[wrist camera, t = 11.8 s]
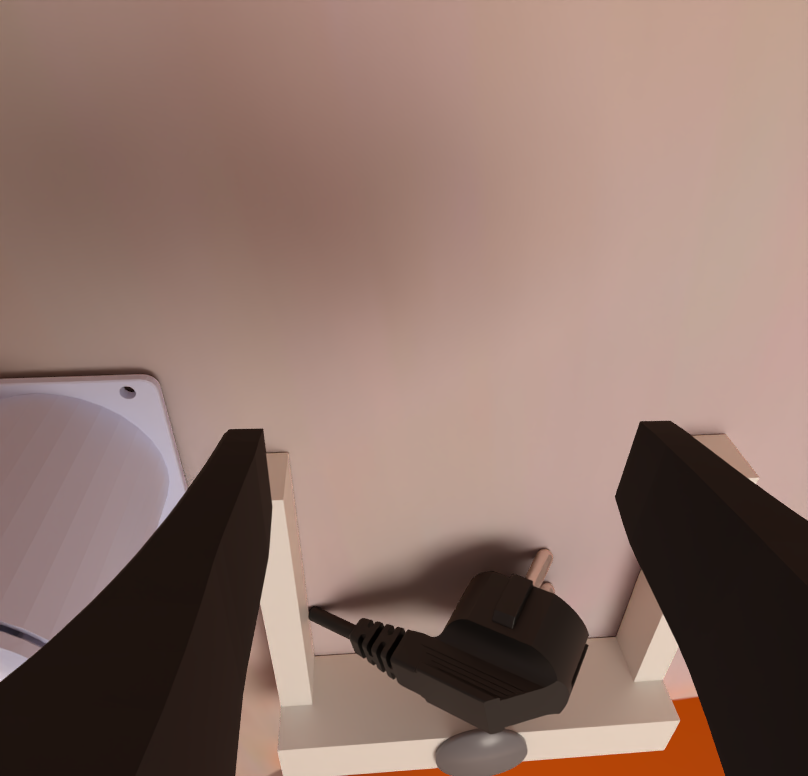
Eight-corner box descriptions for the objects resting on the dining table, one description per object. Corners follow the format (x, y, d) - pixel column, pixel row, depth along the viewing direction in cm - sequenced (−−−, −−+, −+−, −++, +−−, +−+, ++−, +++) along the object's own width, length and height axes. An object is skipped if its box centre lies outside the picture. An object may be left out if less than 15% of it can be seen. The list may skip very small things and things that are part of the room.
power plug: (285, 591, 27) (545, 713, 21) (376, 476, 32) (609, 549, 26) (317, 659, 31) (551, 781, 25) (396, 546, 36) (607, 625, 30)
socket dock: (291, 695, 34) (284, 792, 30) (248, 454, 24) (230, 554, 20) (627, 672, 35) (662, 762, 31) (725, 434, 25) (796, 524, 21)
